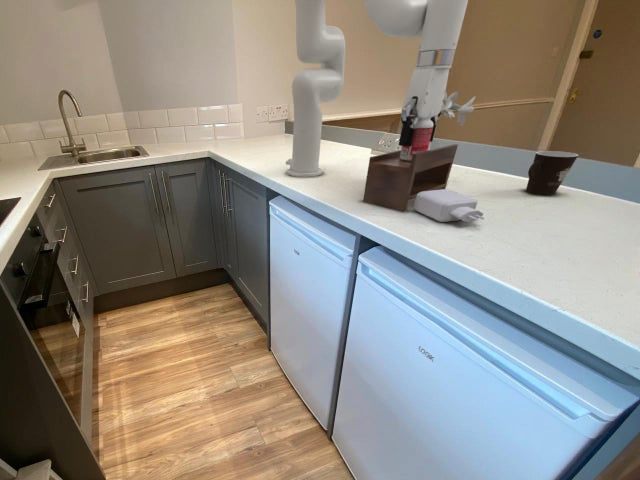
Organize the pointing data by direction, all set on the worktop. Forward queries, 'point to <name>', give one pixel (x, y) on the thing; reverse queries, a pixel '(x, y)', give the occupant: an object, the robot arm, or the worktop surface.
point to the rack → (407, 176)
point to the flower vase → (461, 110)
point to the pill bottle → (419, 138)
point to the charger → (447, 206)
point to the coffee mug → (549, 171)
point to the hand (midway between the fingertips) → (415, 143)
